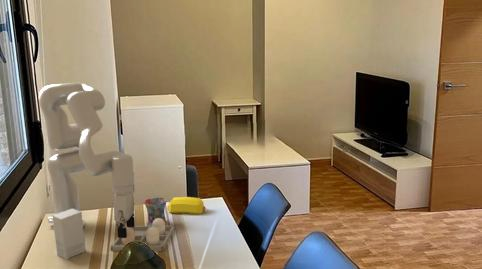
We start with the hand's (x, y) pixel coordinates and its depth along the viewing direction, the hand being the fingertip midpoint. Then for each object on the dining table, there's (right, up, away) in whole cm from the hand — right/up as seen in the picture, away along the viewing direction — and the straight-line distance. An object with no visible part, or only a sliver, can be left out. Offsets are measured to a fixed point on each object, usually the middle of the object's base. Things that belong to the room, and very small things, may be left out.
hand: (126, 232), depth 172 cm
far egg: (+10, -5, 0) cm, 11 cm away
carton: (+6, -4, +5) cm, 9 cm away
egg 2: (+11, -3, +9) cm, 14 cm away
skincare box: (-19, -7, -4) cm, 21 cm away
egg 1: (+1, -5, +1) cm, 5 cm away
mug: (+8, -1, +21) cm, 23 cm away
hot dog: (+18, +1, +35) cm, 39 cm away
